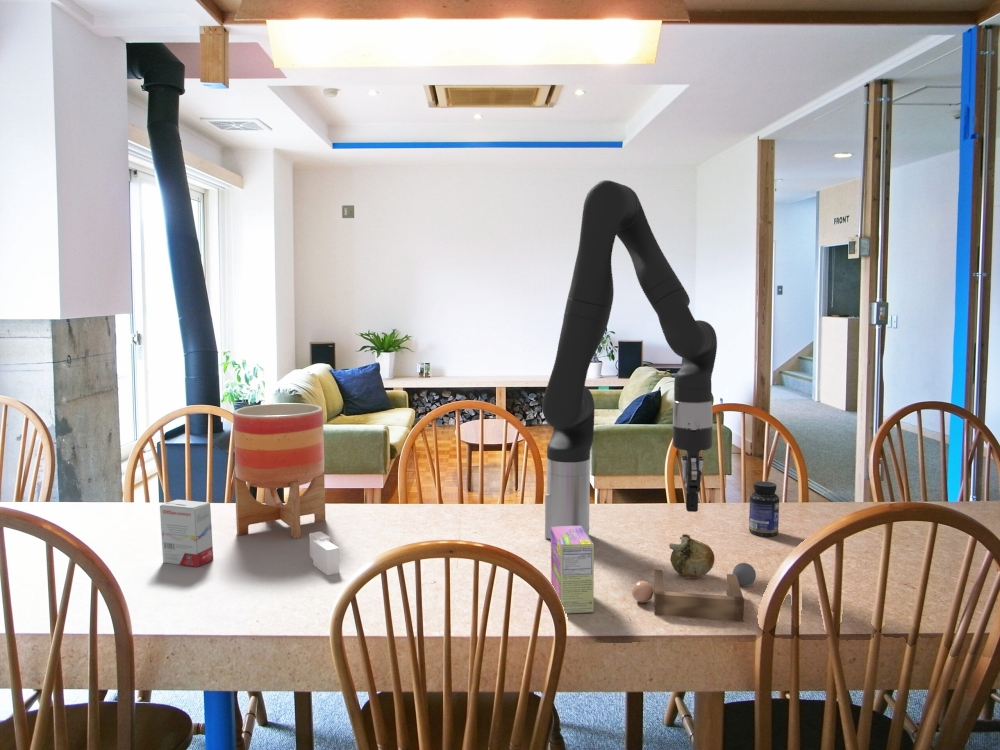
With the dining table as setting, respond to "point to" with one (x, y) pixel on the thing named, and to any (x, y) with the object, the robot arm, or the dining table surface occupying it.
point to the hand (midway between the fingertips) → (691, 510)
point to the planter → (279, 463)
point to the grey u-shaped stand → (699, 601)
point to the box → (573, 568)
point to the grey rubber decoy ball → (744, 574)
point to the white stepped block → (324, 553)
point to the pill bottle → (764, 509)
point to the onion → (691, 557)
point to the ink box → (186, 532)
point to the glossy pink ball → (642, 591)
